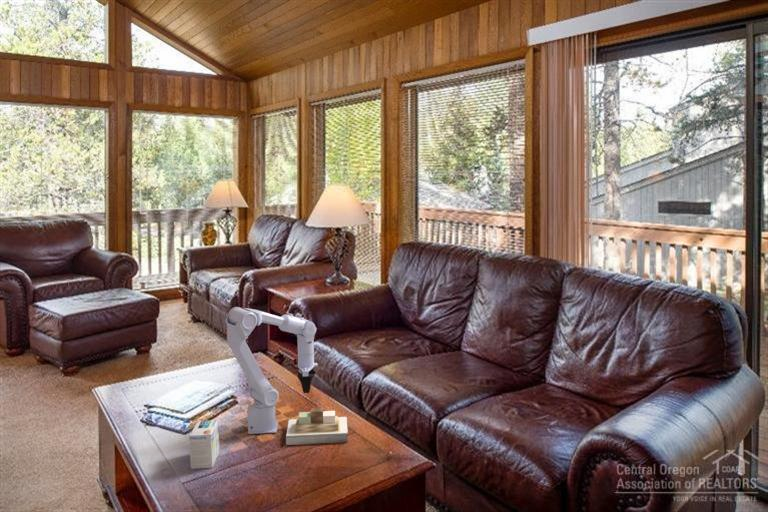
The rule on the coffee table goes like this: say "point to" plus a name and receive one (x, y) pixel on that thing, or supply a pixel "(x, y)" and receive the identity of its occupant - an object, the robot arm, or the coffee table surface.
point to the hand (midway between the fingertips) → (306, 388)
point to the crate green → (304, 417)
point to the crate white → (328, 416)
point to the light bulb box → (204, 444)
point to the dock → (317, 434)
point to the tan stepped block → (317, 422)
